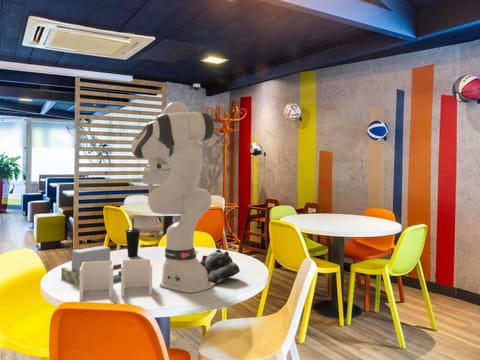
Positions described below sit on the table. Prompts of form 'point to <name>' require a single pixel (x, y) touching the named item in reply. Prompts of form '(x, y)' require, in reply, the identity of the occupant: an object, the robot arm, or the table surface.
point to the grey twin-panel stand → (102, 275)
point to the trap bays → (117, 278)
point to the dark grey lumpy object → (219, 266)
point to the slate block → (89, 256)
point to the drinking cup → (132, 240)
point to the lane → (77, 274)
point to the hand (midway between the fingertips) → (157, 194)
